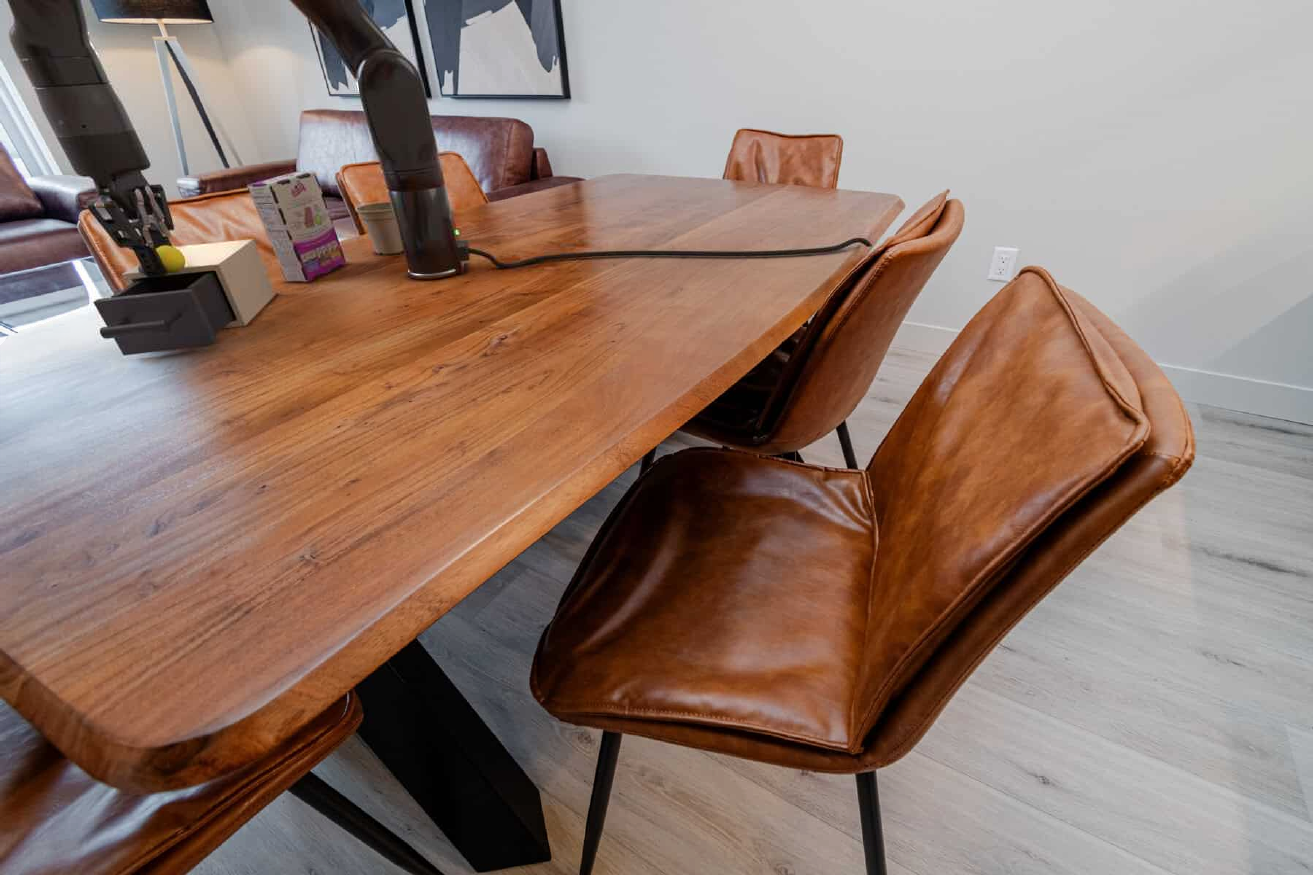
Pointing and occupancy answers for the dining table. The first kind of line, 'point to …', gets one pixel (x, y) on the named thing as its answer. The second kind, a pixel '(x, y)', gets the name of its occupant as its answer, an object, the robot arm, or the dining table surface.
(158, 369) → the dining table surface
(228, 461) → the dining table surface
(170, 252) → the light bulb
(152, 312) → the drawer
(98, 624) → the dining table surface
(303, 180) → the candy bar box
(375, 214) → the flower pot
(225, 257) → the cabinet
